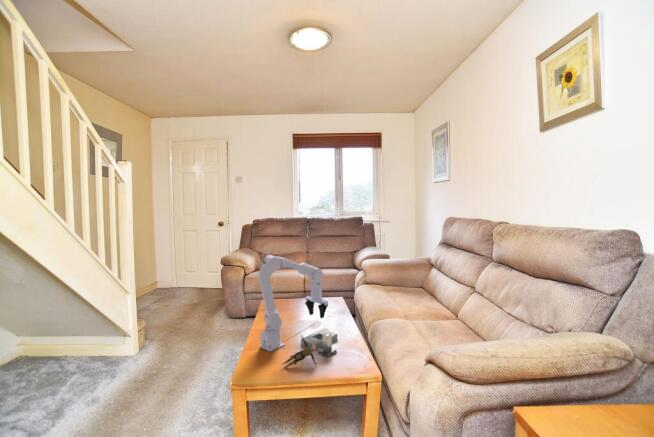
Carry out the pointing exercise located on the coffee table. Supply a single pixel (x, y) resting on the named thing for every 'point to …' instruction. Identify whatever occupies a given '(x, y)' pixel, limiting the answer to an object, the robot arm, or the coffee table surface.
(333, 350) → the gray square base plate
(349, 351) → the coffee table surface
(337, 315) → the coffee table surface
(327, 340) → the metal peg
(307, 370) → the coffee table surface
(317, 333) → the hole board
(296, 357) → the samurai figurine
